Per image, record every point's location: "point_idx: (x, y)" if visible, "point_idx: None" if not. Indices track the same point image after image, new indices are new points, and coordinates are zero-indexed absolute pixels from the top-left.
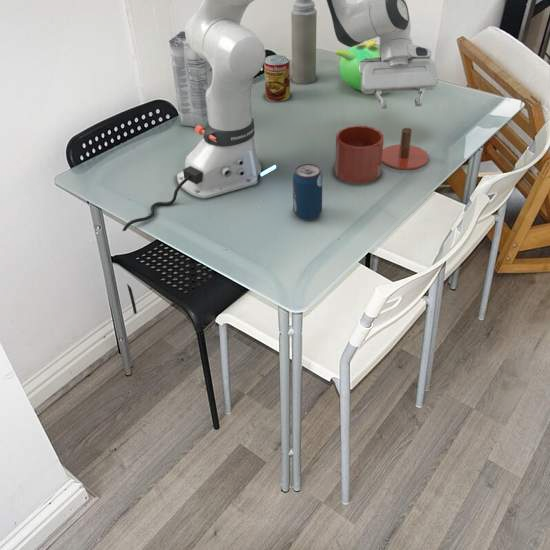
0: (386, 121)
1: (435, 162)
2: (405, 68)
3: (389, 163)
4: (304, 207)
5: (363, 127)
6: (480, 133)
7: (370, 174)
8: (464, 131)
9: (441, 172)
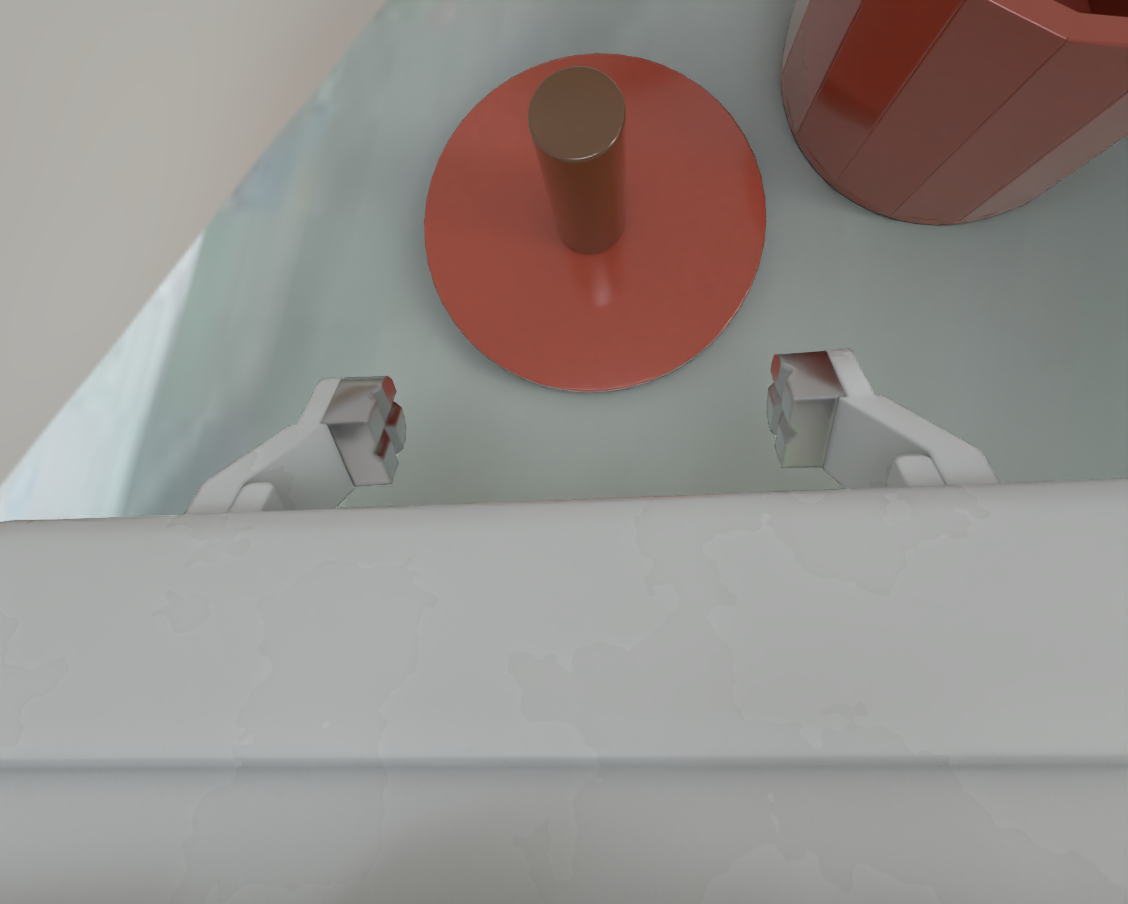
0: None
1: (390, 188)
2: (374, 901)
3: (712, 117)
4: None
5: (1085, 13)
6: None
7: None
8: None
9: (382, 63)
